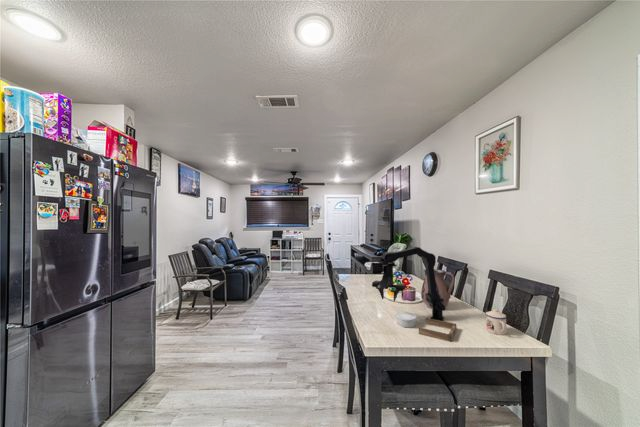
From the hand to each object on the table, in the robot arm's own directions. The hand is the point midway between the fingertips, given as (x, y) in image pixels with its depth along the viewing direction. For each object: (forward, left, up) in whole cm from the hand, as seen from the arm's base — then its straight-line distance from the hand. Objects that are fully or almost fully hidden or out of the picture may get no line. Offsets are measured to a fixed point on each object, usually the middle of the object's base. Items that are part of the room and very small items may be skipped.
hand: (388, 300), depth 151 cm
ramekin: (0, +10, -12) cm, 16 cm away
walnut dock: (0, +26, -12) cm, 29 cm away
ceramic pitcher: (-42, +19, -12) cm, 47 cm away
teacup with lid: (-17, +53, -12) cm, 57 cm away
